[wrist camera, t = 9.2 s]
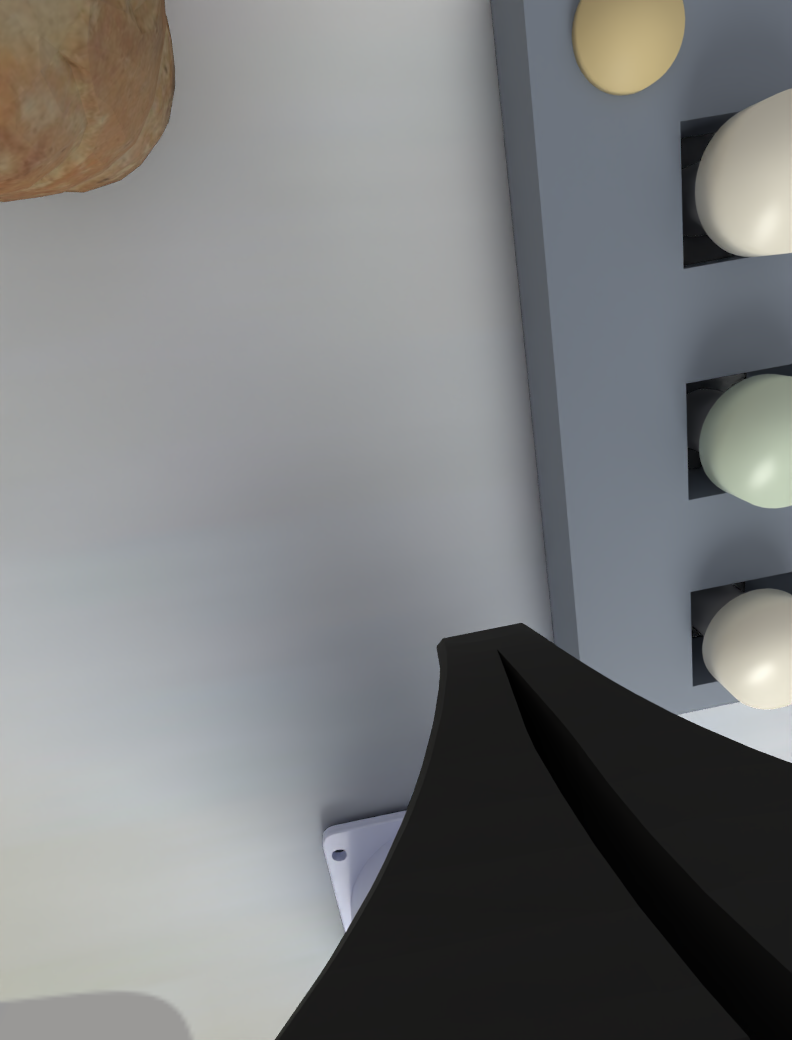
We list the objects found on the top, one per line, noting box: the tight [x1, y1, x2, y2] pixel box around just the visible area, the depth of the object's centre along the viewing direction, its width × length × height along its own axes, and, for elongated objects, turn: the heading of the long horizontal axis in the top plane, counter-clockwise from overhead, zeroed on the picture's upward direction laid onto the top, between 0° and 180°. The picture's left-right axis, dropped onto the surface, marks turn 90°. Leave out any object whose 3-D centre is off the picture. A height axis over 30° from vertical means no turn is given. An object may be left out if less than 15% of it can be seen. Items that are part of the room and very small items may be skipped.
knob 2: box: [691, 584, 792, 709], centre depth 20 cm, size 3×3×4 cm
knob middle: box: [686, 374, 792, 508], centre depth 18 cm, size 3×3×4 cm
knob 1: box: [681, 89, 792, 257], centre depth 16 cm, size 3×3×4 cm
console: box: [491, 0, 792, 715], centre depth 18 cm, size 20×10×3 cm, turn 10°
